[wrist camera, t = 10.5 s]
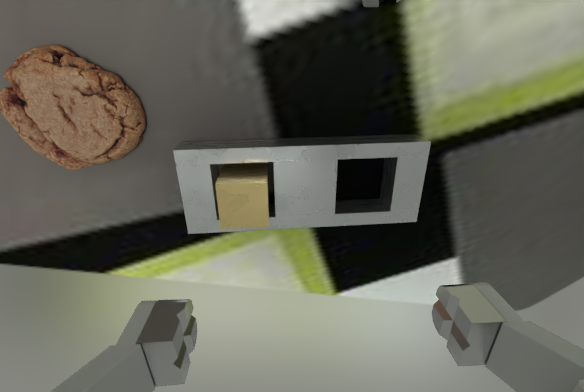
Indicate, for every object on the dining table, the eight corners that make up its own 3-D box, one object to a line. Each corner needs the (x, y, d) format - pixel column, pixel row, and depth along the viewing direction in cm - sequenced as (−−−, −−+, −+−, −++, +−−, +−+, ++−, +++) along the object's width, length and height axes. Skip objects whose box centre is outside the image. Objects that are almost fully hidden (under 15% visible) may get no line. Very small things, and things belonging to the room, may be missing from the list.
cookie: (158, 161, 28) (146, 172, 25) (40, 166, 27) (15, 178, 25) (132, 43, 24) (114, 41, 21) (-7, 46, 23) (-43, 44, 21)
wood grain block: (267, 159, 29) (267, 182, 23) (268, 197, 30) (269, 227, 25) (225, 160, 28) (215, 184, 23) (228, 198, 30) (220, 229, 24)
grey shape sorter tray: (415, 134, 29) (431, 141, 26) (403, 208, 32) (416, 221, 29) (182, 141, 27) (173, 150, 24) (195, 218, 30) (188, 233, 28)
